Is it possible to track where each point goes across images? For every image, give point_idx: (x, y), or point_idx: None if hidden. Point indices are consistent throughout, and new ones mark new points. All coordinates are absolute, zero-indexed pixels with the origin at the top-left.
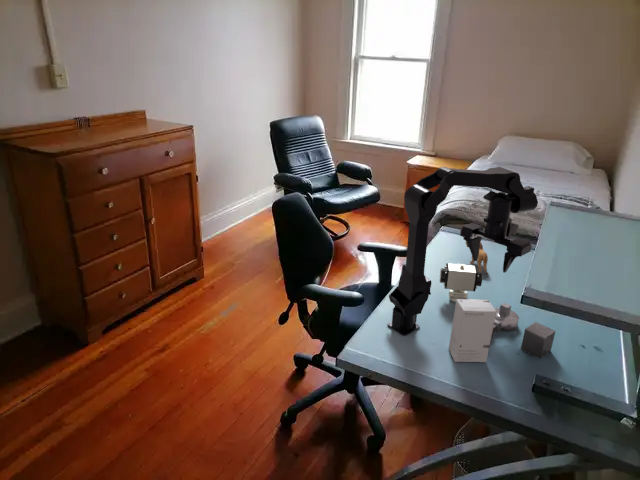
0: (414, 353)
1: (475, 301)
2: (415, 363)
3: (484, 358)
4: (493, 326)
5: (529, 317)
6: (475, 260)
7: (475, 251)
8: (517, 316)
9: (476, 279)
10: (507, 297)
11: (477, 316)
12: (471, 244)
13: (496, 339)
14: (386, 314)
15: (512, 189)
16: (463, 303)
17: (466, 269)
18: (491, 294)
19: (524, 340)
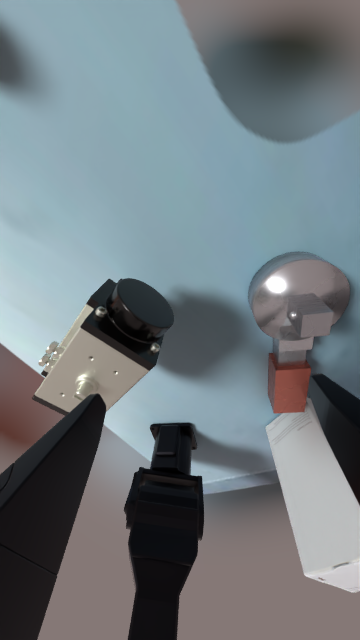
0: (238, 456)
1: (356, 572)
2: (256, 464)
3: None
4: (301, 356)
5: (338, 175)
6: (104, 411)
7: (71, 488)
8: (338, 274)
9: (159, 345)
10: (192, 122)
11: None
12: (41, 613)
13: (314, 351)
14: (130, 432)
15: None
16: (335, 583)
17: (105, 379)
18: (145, 174)
19: None
